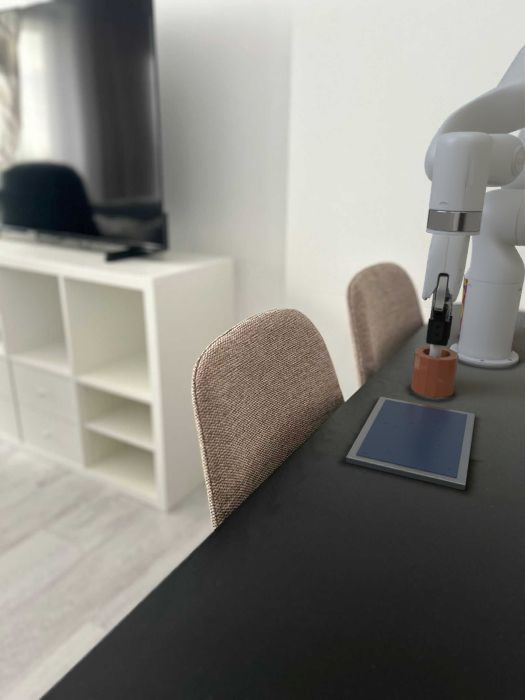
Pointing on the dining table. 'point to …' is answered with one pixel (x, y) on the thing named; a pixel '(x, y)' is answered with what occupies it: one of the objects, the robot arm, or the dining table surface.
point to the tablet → (416, 442)
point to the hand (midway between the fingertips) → (437, 340)
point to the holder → (434, 372)
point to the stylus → (435, 350)
